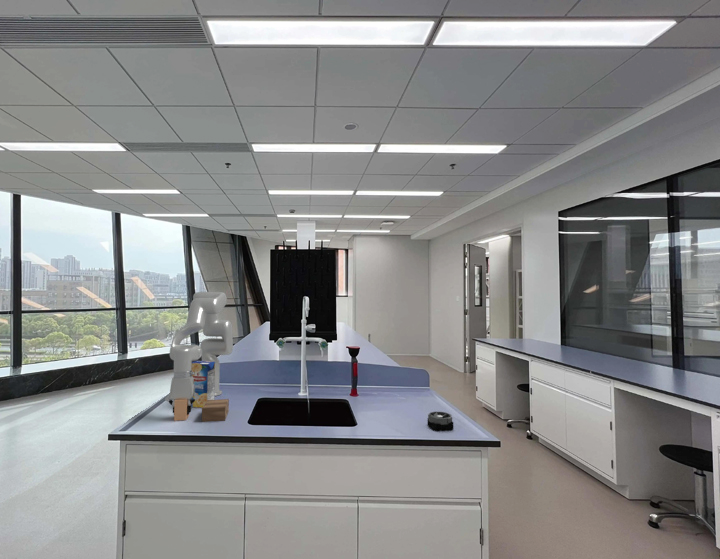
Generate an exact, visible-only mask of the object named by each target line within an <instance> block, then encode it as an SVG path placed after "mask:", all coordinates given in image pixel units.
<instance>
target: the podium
mask: <svg viewBox="0 0 720 559" xmlns="http://www.w3.org/2000/svg"><path fill="white" fill-rule="evenodd" d="M229 402H230V399H229V398H224V399H214V400H207V401H206V403H205V405H204V406H203V408H201V422H202V423H205V422H206V423H207V422H210V423H211V422H222V421H223V422H224V421H226V419H227V416H228V414H229V411H230V410H229V409H230V407H229V404H230V403H229Z"/></svg>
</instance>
